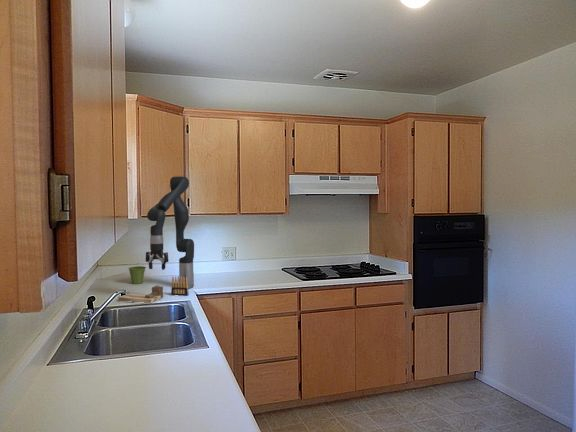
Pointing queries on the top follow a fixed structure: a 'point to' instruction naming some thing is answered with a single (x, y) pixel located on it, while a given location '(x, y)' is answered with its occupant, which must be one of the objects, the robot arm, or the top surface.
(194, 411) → the top surface
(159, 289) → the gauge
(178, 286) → the ammunition clip
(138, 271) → the plant pot
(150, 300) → the board
